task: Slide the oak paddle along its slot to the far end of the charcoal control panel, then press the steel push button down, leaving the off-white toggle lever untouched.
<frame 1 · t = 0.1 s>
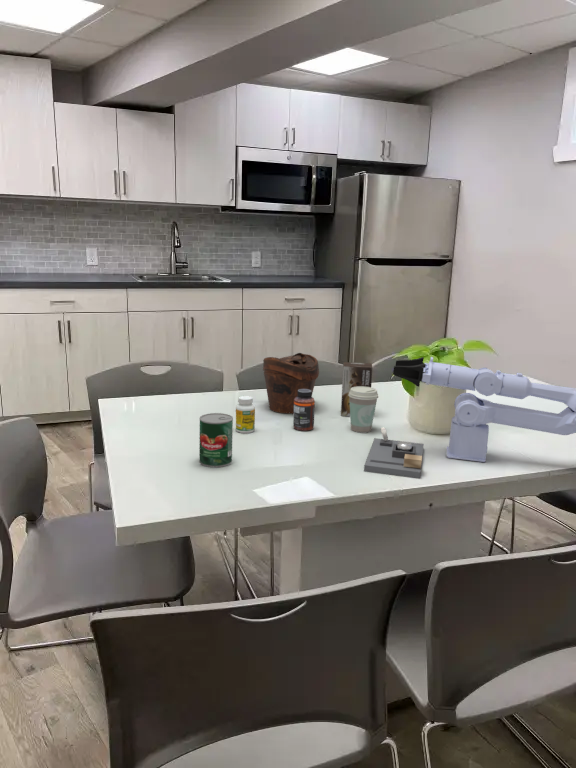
hand: (394, 367, 153), 22 cm above the table, tool horizontal, fingers open, 7 cm apart
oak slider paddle: (412, 461, 140), point 3 cm above the table, slide at 0.0 cm
steel push button: (404, 446, 147), point 4 cm above the table, slide at 0.0 cm
canned tomato: (215, 462, 143), on the table
supplement bottle 2: (303, 429, 171), on the table
coffee box: (354, 414, 187), on the table
coffee cup: (360, 430, 172), on the table
brown leather bucket: (289, 408, 191), on the table
control panel: (395, 459, 149), on the table
off-white toggle lever: (384, 433, 154), point 4 cm above the table, hinge at 20.0°
supplement bottle: (244, 431, 167), on the table
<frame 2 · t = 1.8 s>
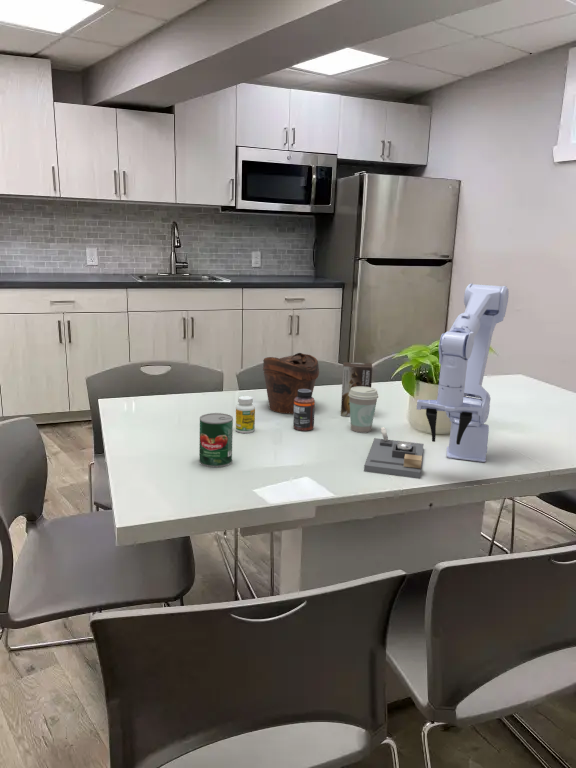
hand: (445, 441, 137), 8 cm above the table, tool pointing down, fingers open, 5 cm apart
nothing on the table moved.
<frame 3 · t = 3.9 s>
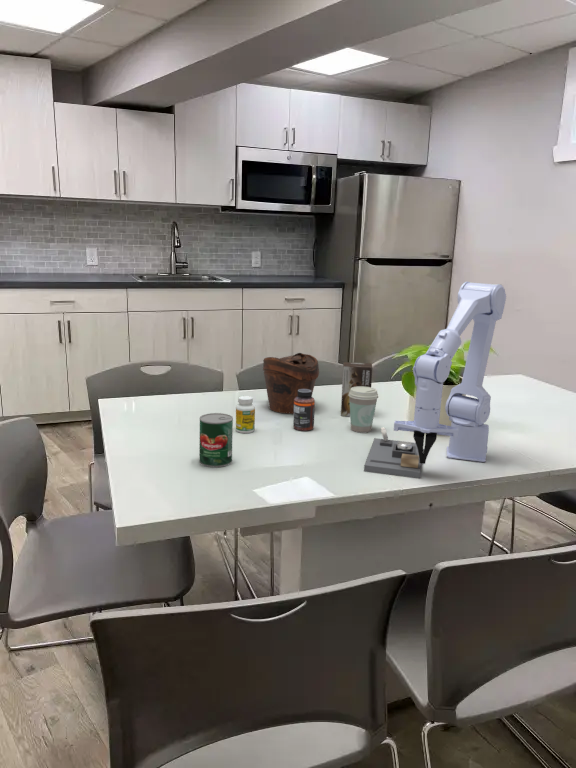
hand: (422, 462, 140), 3 cm above the table, tool pointing down, fingers closed
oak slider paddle: (409, 460, 140), point 3 cm above the table, slide at 0.7 cm, touching gripper
everything else where it was.
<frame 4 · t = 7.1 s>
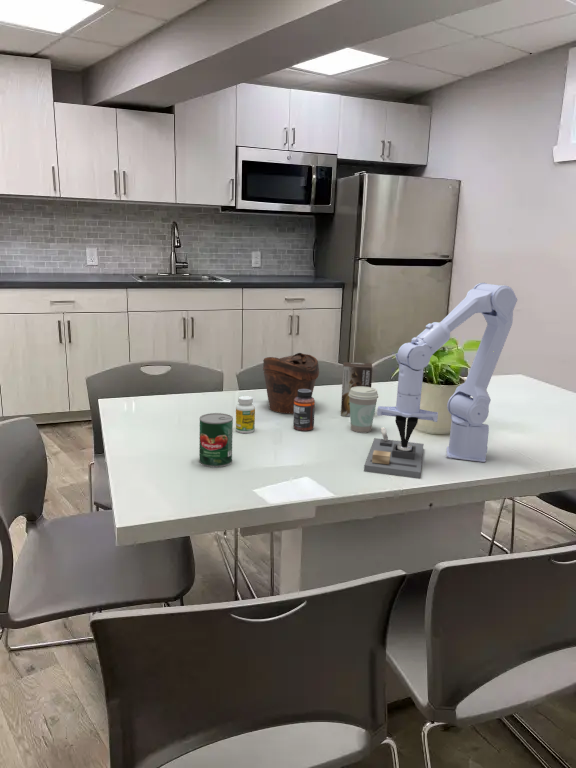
hand: (404, 445, 147), 4 cm above the table, tool pointing down, fingers closed, pressing on steel push button
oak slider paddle: (381, 457, 142), point 3 cm above the table, slide at 7.4 cm
steel push button: (404, 448, 147), point 3 cm above the table, slide at 0.5 cm, touching gripper
everything else where it was.
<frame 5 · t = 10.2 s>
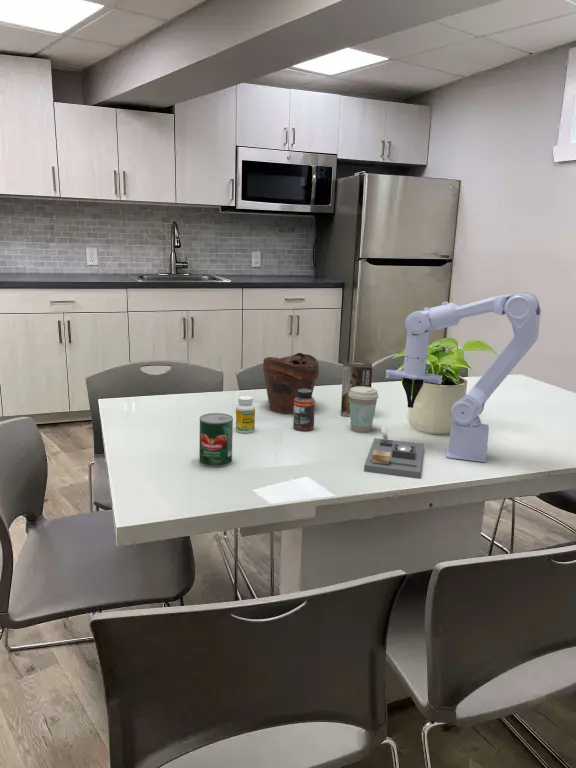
hand: (410, 406, 158), 10 cm above the table, tool pointing down, fingers closed
steel push button: (404, 450, 147), point 3 cm above the table, slide at 0.9 cm
everything else where it was.
at the end: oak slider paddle slide at 7.4 cm; steel push button slide at 0.9 cm; off-white toggle lever at +20° (first picture: +20°) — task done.
